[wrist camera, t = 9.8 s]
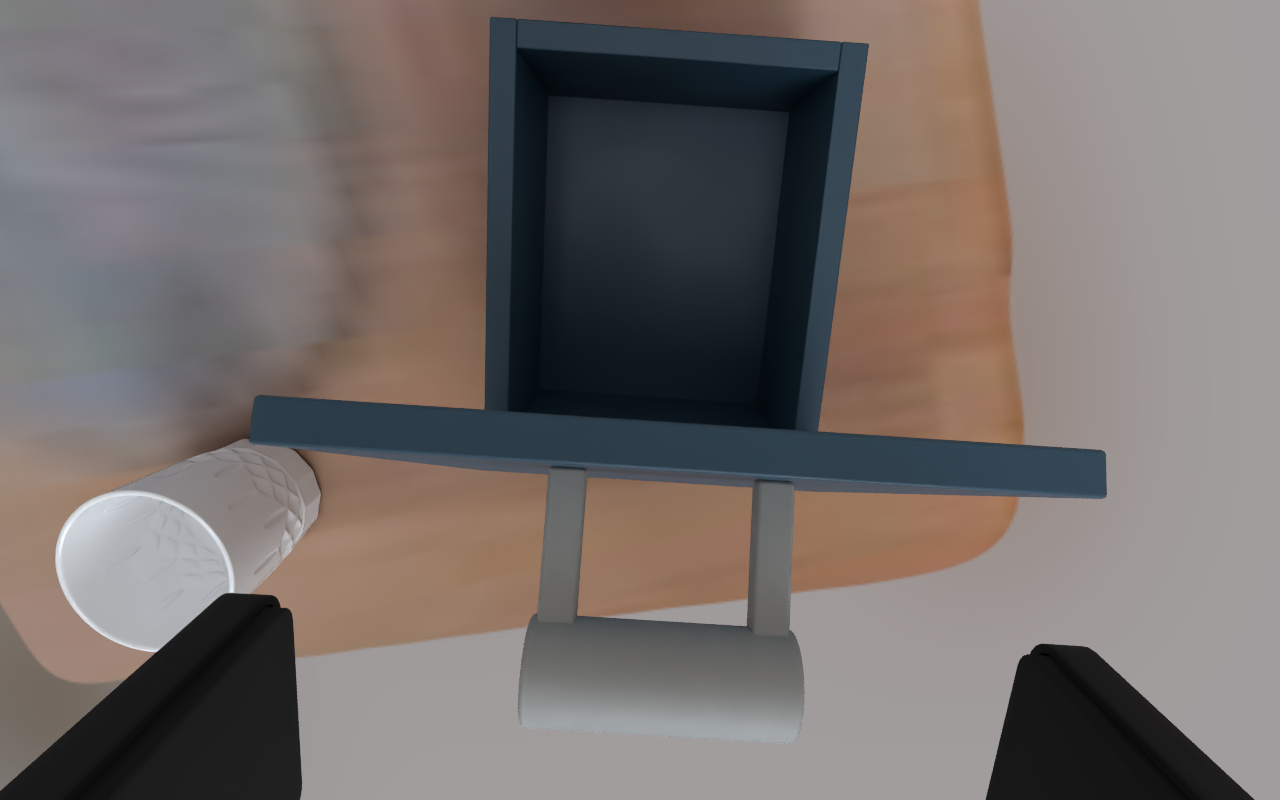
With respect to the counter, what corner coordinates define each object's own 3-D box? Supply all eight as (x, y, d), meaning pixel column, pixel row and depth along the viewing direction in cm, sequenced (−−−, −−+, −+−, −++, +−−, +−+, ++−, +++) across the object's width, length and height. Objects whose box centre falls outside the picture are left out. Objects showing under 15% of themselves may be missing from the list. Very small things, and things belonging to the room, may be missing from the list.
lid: (253, 394, 11) (203, 758, 10) (1107, 449, 11) (1115, 813, 11) (482, 450, 29) (469, 587, 28) (814, 472, 29) (810, 609, 28)
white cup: (325, 428, 39) (221, 491, 30) (338, 554, 41) (244, 653, 32) (187, 426, 39) (38, 489, 30) (206, 553, 41) (71, 652, 32)
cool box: (532, 76, 35) (489, 16, 25) (806, 96, 35) (869, 43, 25) (523, 401, 39) (483, 457, 29) (770, 417, 39) (812, 478, 29)
